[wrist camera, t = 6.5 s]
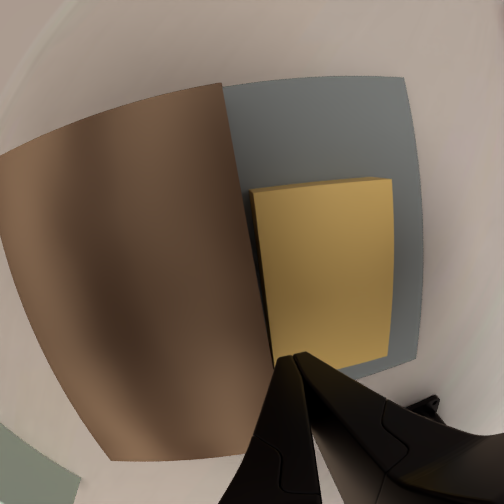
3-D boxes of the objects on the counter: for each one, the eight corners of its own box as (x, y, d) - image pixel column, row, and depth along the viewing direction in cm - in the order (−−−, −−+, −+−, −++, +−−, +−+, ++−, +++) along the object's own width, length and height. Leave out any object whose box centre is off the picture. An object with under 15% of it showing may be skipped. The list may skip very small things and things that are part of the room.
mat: (400, 79, 13) (403, 77, 13) (413, 355, 18) (415, 358, 17) (208, 91, 13) (208, 89, 12) (267, 397, 17) (268, 401, 17)
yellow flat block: (371, 176, 14) (391, 179, 12) (372, 337, 16) (387, 355, 15) (248, 189, 14) (253, 192, 12) (270, 359, 16) (276, 382, 14)
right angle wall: (-28, 443, 18) (-51, 483, 11) (-24, 401, 16) (-60, 451, 9) (54, 501, 21) (40, 545, 14) (81, 477, 19) (63, 537, 12)
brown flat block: (221, 99, 13) (221, 82, 10) (278, 411, 18) (287, 445, 15) (20, 161, 12) (-14, 163, 9) (120, 429, 17) (111, 460, 14)
